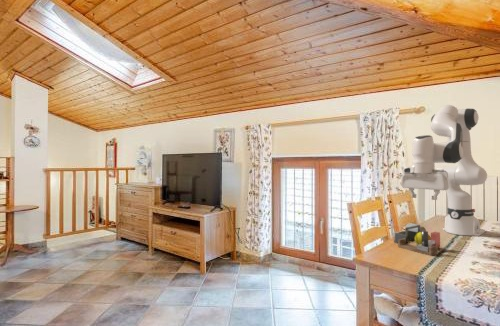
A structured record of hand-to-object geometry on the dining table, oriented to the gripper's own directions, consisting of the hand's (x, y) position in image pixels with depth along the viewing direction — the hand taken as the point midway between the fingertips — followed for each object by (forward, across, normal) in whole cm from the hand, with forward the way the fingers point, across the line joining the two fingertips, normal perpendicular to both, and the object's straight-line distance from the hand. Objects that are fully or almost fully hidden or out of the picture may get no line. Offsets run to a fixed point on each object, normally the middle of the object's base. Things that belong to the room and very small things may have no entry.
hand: (423, 198), depth 132 cm
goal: (+25, +13, -8) cm, 29 cm away
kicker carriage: (+24, -1, -3) cm, 24 cm away
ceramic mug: (+25, +16, -22) cm, 36 cm away
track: (+25, +3, +1) cm, 25 cm away
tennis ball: (+25, +5, -8) cm, 27 cm away
